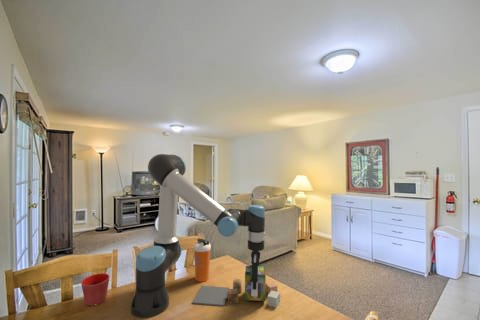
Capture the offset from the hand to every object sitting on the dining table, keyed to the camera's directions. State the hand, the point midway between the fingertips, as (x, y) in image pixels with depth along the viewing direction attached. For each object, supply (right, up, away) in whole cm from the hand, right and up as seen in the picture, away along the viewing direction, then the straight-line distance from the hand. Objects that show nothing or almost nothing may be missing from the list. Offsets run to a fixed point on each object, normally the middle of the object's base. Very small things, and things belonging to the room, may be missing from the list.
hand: (255, 289), depth 107 cm
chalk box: (0, -3, 0) cm, 3 cm away
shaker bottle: (-27, -4, +17) cm, 32 cm away
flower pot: (-70, -3, -3) cm, 70 cm away
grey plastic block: (+8, -4, -4) cm, 10 cm away
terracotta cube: (+8, -4, +4) cm, 10 cm away
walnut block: (-10, -4, -2) cm, 11 cm away
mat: (-20, -4, +1) cm, 20 cm away
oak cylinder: (-8, -4, +5) cm, 10 cm away
